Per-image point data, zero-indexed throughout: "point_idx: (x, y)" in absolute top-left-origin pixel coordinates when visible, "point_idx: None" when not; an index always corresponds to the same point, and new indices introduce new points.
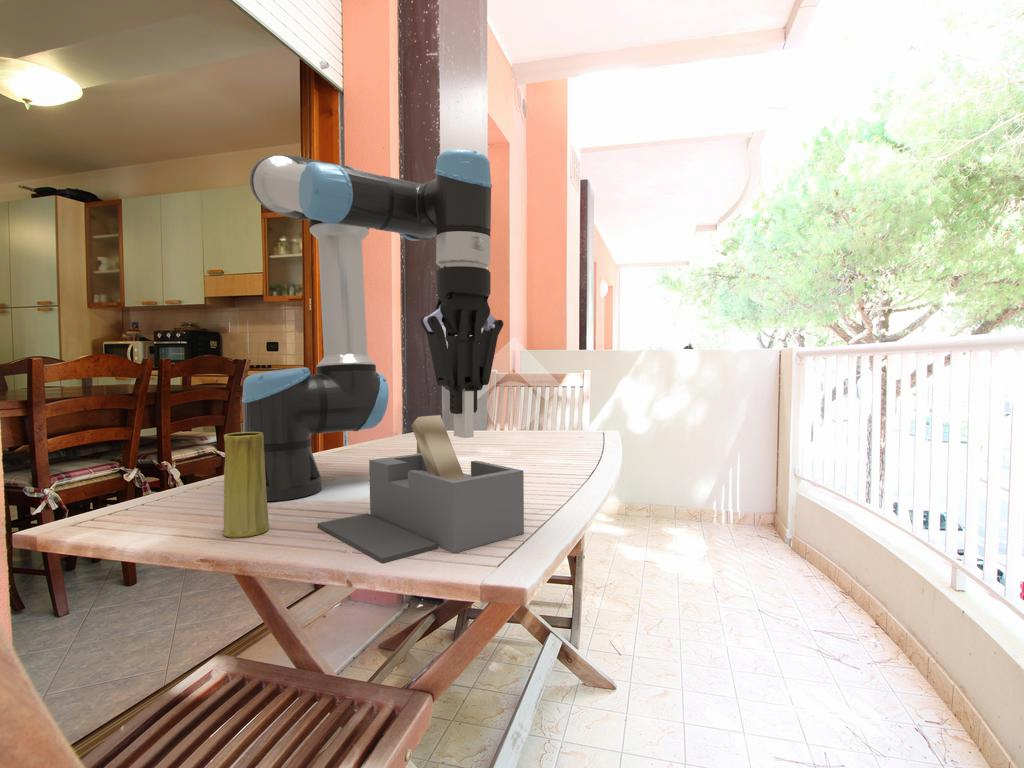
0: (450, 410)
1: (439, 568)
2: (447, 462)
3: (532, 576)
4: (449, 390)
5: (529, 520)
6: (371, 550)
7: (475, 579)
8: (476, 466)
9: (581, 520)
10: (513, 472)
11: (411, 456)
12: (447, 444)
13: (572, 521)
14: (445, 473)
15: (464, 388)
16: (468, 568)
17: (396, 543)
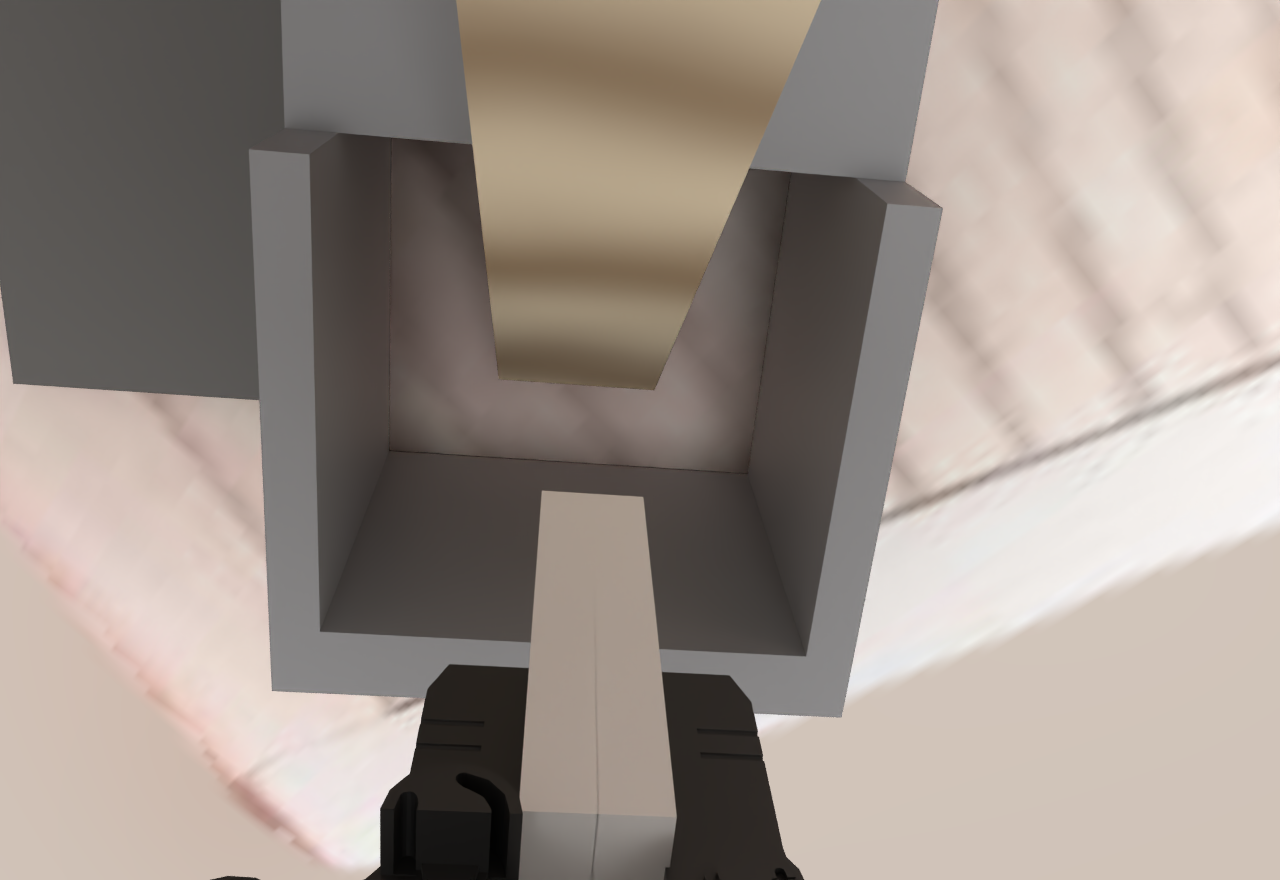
0: (433, 690)
1: (202, 582)
2: (604, 236)
3: None
4: (377, 877)
5: (979, 393)
6: (10, 250)
7: (250, 740)
8: (866, 272)
9: (1129, 574)
10: (756, 711)
11: None
12: (695, 170)
13: (1089, 555)
14: (541, 268)
15: (694, 860)
16: None
17: (163, 253)
